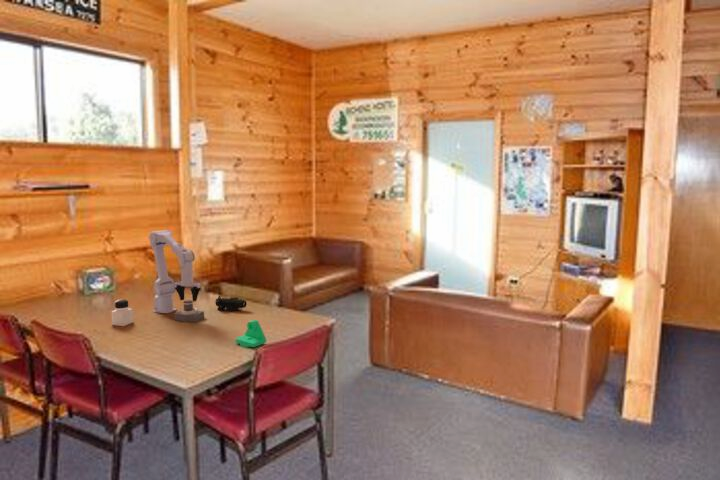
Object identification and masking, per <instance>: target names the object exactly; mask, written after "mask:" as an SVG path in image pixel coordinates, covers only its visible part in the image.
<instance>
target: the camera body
mask: <svg viewBox="0 0 720 480" xmlns="http://www.w3.org/2000/svg"><path fill="white" fill-rule="evenodd" d="M202 319H205V311H203V310H198V308H197V307H193V311H184V308H182V309H180V311H178V312H175V313H174V321H177V322H178V321H179V322H189V323H197V322H198V321H201V320H202Z"/></svg>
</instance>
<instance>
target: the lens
mask: <svg viewBox="0 0 720 480" xmlns="http://www.w3.org/2000/svg"><path fill="white" fill-rule="evenodd" d="M182 304H183V309H184V311H193V308H194V302H193V299H192V300H191V299H188V300H187V299H186V300H184V301H183V303H182Z"/></svg>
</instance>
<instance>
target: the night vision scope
mask: <svg viewBox="0 0 720 480" xmlns="http://www.w3.org/2000/svg"><path fill="white" fill-rule="evenodd" d="M215 306H216V307H217V311H222V312H223V311H224V312H233V311H234V312H235V310H239V309H243V308H246V307H247V301H246V300H243V299H241V298H238V297H229V298H225V297H221V295H218V297H217V298H216V299H215Z"/></svg>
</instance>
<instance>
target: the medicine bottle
mask: <svg viewBox="0 0 720 480" xmlns="http://www.w3.org/2000/svg"><path fill="white" fill-rule="evenodd" d="M132 323H134V309H133V308H130V307H129V301H128V300H127V299H117V300H116V301H114V310H111V325H112V326H118V327H126V326H127V325H131V324H132Z"/></svg>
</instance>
